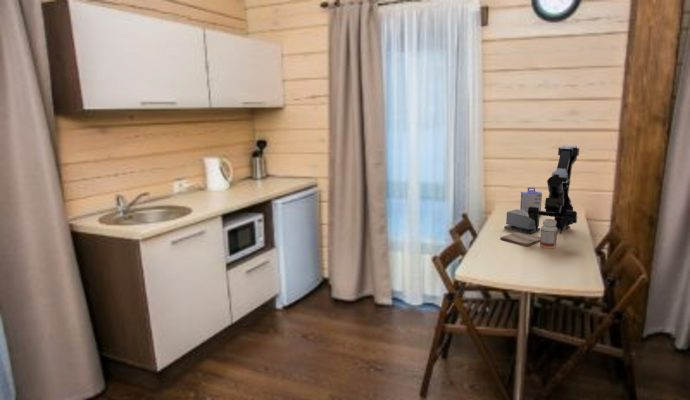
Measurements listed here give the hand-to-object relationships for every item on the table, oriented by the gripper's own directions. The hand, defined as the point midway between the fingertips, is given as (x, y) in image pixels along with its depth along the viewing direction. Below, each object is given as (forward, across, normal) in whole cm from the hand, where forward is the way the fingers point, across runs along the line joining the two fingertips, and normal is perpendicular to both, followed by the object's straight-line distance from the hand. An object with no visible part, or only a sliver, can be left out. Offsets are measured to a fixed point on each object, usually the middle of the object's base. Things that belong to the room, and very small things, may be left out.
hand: (548, 231), depth 190 cm
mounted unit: (-11, -15, +20) cm, 27 cm away
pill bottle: (+4, 0, +6) cm, 7 cm away
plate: (+1, -11, +9) cm, 14 cm away
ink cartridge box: (-31, -17, +40) cm, 54 cm away
